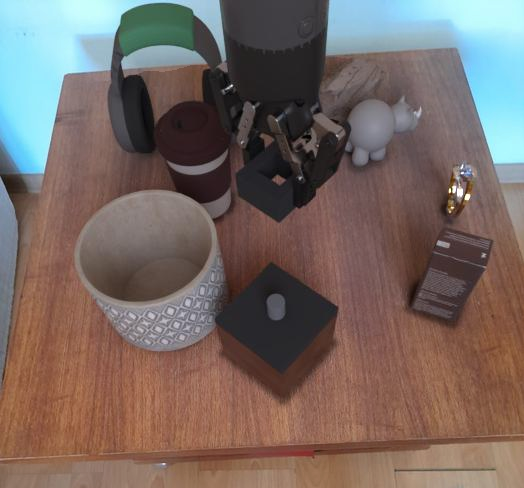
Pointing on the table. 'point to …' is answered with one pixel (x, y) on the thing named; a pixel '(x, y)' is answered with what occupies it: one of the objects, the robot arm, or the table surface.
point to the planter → (154, 268)
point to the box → (451, 273)
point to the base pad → (279, 332)
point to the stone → (349, 86)
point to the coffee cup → (197, 154)
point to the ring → (460, 188)
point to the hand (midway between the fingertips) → (278, 186)
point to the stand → (269, 374)
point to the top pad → (268, 183)
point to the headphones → (133, 86)
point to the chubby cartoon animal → (377, 127)
